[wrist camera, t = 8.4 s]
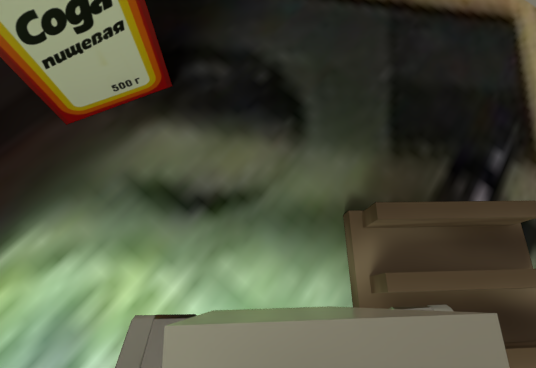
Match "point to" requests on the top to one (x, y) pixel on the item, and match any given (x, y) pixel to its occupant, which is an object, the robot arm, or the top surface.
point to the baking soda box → (82, 52)
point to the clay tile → (335, 339)
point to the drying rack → (448, 263)
